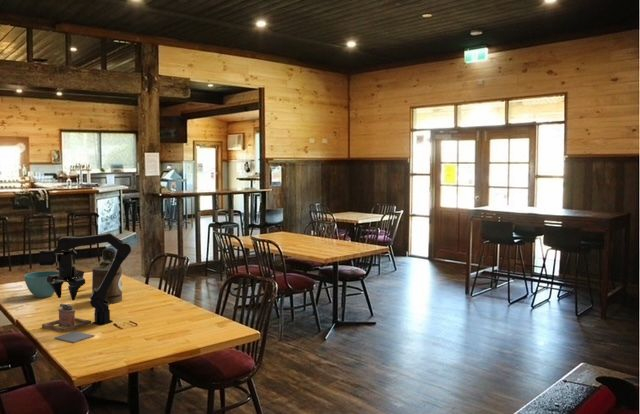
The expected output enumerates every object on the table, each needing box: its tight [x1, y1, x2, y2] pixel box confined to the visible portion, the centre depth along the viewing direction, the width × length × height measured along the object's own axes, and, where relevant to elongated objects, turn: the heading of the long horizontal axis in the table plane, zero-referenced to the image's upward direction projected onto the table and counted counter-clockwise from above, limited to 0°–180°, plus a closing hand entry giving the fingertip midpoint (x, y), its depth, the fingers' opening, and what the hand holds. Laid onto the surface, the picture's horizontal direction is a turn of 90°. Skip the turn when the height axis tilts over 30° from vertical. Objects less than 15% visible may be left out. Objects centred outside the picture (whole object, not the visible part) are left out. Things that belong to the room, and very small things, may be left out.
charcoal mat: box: [53, 330, 95, 344], centre depth 230 cm, size 12×10×1 cm
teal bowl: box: [23, 270, 59, 299], centre depth 301 cm, size 18×18×12 cm
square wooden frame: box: [41, 317, 92, 333], centre depth 246 cm, size 14×14×2 cm
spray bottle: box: [98, 247, 116, 266], centre depth 311 cm, size 10×10×25 cm
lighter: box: [58, 303, 76, 328], centre depth 246 cm, size 8×3×10 cm, turn 74°
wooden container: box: [91, 260, 123, 305], centre depth 291 cm, size 15×15×22 cm
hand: (66, 298), depth 246 cm, fingers open, 9 cm apart
